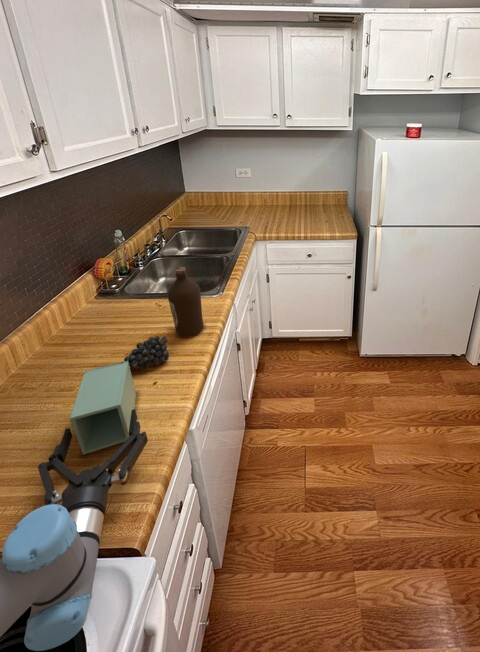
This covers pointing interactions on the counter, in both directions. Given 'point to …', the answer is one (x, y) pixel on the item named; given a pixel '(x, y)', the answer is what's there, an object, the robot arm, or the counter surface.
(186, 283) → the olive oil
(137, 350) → the fruit
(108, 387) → the open box
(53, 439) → the counter surface
